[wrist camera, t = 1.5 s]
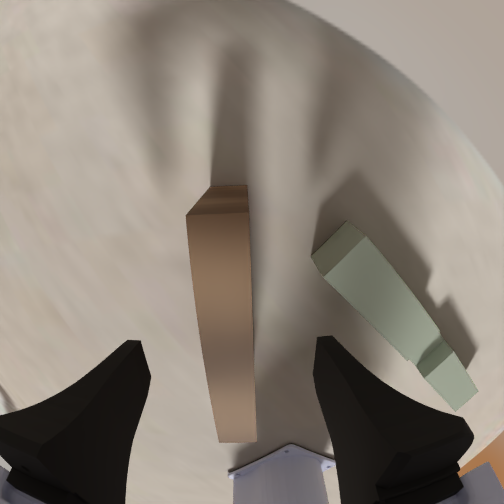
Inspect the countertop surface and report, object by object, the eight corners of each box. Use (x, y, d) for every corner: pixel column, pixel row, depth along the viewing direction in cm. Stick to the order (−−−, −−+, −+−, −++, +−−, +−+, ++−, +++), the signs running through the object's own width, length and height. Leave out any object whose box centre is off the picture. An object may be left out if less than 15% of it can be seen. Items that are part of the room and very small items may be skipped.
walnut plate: (253, 361, 20) (256, 442, 13) (224, 362, 20) (219, 442, 13) (247, 185, 16) (248, 212, 9) (210, 186, 16) (185, 215, 9)
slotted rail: (442, 392, 23) (455, 411, 20) (310, 256, 17) (322, 277, 14) (464, 373, 22) (478, 391, 19) (347, 220, 17) (366, 235, 14)
